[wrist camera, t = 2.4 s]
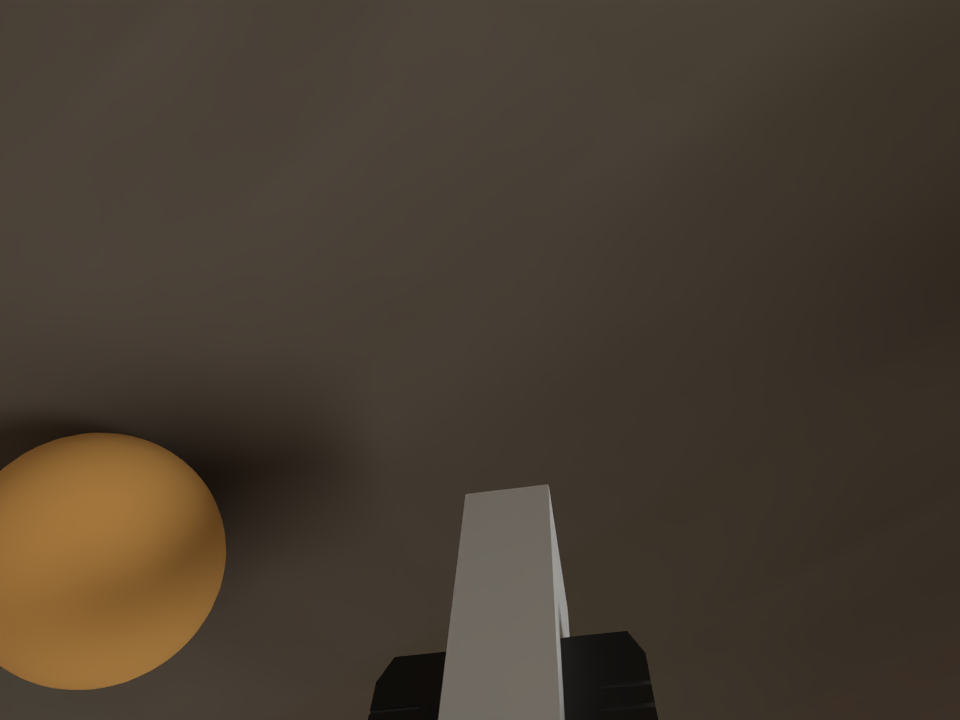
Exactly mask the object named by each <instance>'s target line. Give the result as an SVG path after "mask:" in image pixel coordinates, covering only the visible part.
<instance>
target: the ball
mask: <svg viewBox="0 0 960 720" xmlns="http://www.w3.org/2000/svg"><path fill="white" fill-rule="evenodd" d="M225 560H226V542H225V531H224V526H223V522H222V518H221V515H220V512H219V510H218V507H217V504H216V502H215V500H214V498H213V496H212V494H211V492H210V490H209V489H208V487H207V486H206V484H205V483H204V482H203V480H202V479H201V478H200V477H199V476H198V474H197V473H196V472H195V471H194V470H193V469H192V468H191V467H190V466H189V465H188V464H186V463H185V462H184V461H183V460H182V459H180V458H179V457H177V456H176V455H175V454H173V453H172V452H170V451H168V450H167V449H165V448H163V447H161V446H159V445H157V444H155V443H152V442H150V441H147V440H145V439H141V438H138V437H134V436H130V435H124V434H116V433H83V434H78V435H73V436H68V437H64V438H59V439H56V440H53V441H51V442H48V443H45V444H43V445H40V446H38V447H36V448H34V449H32V450H30V451H28V452H26V453H24V454H23V455H21V456H20V457H18V458H17V459H15V460H14V461H13V462H11V463H10V464H8V465H7V466H6V467H4V468H3V469H2V470H1V471H0V666H1V667H3V668H4V669H6V670H7V671H9V672H10V673H12V674H14V675H16V676H18V677H20V678H22V679H24V680H27V681H30V682H32V683H35V684H38V685H42V686H46V687H51V688H57V689H68V690H89V689H98V688H104V687H108V686H113V685H117V684H120V683H124V682H127V681H129V680H132V679H134V678H136V677H139V676H141V675H143V674H145V673H147V672H150V671H151V670H153V669H155V668H156V667H158V666H159V665H161V664H162V663H164V662H165V661H167V660H168V659H170V658H171V657H172V656H173V655H174V654H176V653H177V652H178V651H179V650H180V649H181V648H182V647H183V646H184V645H185V644H186V643H187V642H188V641H189V640H190V639H191V638H192V637H193V636H194V634H195V633H196V632H197V631H198V629H199V628H200V627H201V625H202V624H203V622H204V621H205V619H206V617H207V616H208V614H209V613H210V611H211V609H212V606H213V604H214V602H215V599H216V597H217V595H218V592H219V590H220V587H221V582H222V578H223V574H224V569H225Z"/></svg>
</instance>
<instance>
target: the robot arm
mask: <svg viewBox="0 0 960 720" xmlns="http://www.w3.org/2000/svg"><path fill="white" fill-rule="evenodd" d="M370 711H371V714H370V715H369V717H368V720H658V717H657V712H656V708H655V701H654V696H653V691H652V685H651V680H650V675H649V670H648V664H647V659H646V654H645V652H644V651H643V650H642V648H641V647H640V646H639V645H638V644H637V643H636V641H635V640H634V639H633V638H632V637H631V635H630V634H629V633H628V632H627V631H623V632H614V633H604V634H594V635H584V636H574V637H570V636H569V622H568V610H567V603H566V596H565V590H564V583H563V577H562V570H561V564H560V557H559V551H558V544H557V537H556V531H555V524H554V518H553V511H552V505H551V498H550V492H549V485H548V484H547V485H538V486H530V487H522V488H513V489H505V490H497V491H488V492H480V493H472V494H466V495H465V503H464V512H463V520H462V528H461V536H460V544H459V553H458V561H457V569H456V577H455V585H454V594H453V602H452V610H451V618H450V626H449V634H448V643H447V651H446V652H440V653H430V654H420V655H411V656H401V657H395V658H394V659H393V660H392V662H391V663H390V664H389V666H388V667H387V668H386V670H385V671H384V672H383V674H382V675H381V677H380V678H379V679H378V681H377V682H376V686H375V690H374V695H373V699H372V704H371V708H370Z"/></svg>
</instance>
